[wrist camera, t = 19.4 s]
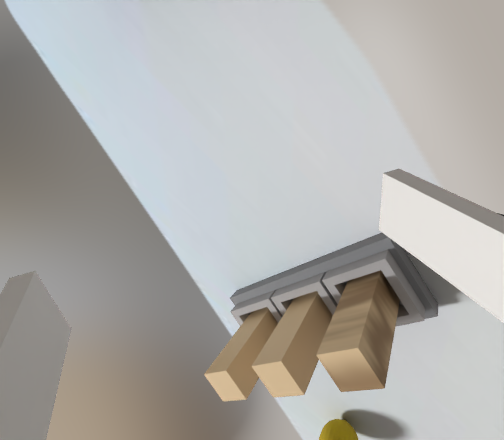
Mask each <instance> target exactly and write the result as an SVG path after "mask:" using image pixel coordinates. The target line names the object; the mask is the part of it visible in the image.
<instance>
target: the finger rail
mask: <svg viewBox="0 0 504 440" xmlns="http://www.w3.org/2000/svg"><path fill="white" fill-rule="evenodd" d="M380 270H381V271H382V272H383V274H384V275H385V277H386V279H387V280H388V282H389V283H390V285H391V286H392V288H393V290H394V291H395V293H396V294H397V296H398V297H399V299H400V302H399V308H398V314H397V320H396V325H395V326H400V325H405V324H410V323H415V322H420V321H424V319H426V318H431V317H436V316H438V304H437V302H436V301H435V299H434V298H433V296H432V294H431V293H430V291H429V290H428V288H427V286H426V285H425V283H424V282H423V280H422V278H421V277H420V275H419V273H418V272H417V270H416V269H415V267H414V265H413V264H412V262H411V261H410V259H409V257H408V256H407V254H406V253H405V251H404V249H403V248H402V247H401V246H400V245H398V244H397V243H396V242H394V241H393V240H392V239H390V238H389V237H388V236H386V235H385V234H384V233H380V234H378V235H375V236H372V237H370V238H367V239H365V240H362V241H360V242H357V243H355V244H352V245H350V246H347V247H345V248H342V249H340V250H337V251H335V252H332V253H330V254H327V255H325V256H322V257H320V258H317V259H315V260H312V261H310V262H307V263H305V264H302V265H300V266H297V267H295V268H292V269H290V270H287V271H285V272H282V273H280V274H277V275H275V276H272V277H269V278H267V279H264V280H262V281H259V282H257V283H254V284H252V285H249V286H247V287H244V288H242V289H239V290H237V291H236V292H235V293H234V294H233V295H232V296H231V298H230V299H231V300H232V302H233V303H234V305H235V307H234V308H233V309H232V311H231V313H232V315H233V316H234V318H235V319H236V321H237V322H238V323H239V325H240V328H239V329H238V330H237V332H236V333H235V334H234V336H233V337H232V338H231V340H230V341H229V342H228V344H227V345H226V346H225V347H224V349H223V350H222V352H221V353H220V354H219V355H218V357H217V358H216V359H215V361H214V362H213V363H212V365H211V366H210V367H209V369H208V370H207V371H206V372H205V374H204V375H205V376H206V378H207V379H208V381H209V382H210V384H211V385H212V386H213V387H214V389H215V390H216V392H217V393H218V395H219V396H220V398H221V399H222V400H223V401H235V400H246V399H247V398H248V396H249V394H250V393H251V391H252V389H253V387H254V385H255V384H256V382H257V380H258V378H260V379H261V381H262V382H263V384H264V385H265V386H266V388H267V389H268V391H269V392H270V394H271V395H272V396H273V397H285V396H298V395H304V394H305V392H306V389H307V387H308V384H309V382H310V380H311V377H312V375H313V372H314V370H315V367H316V365H317V363H318V360H319V359H318V357H317V356H316V354H317V352H318V350H319V347H320V345H321V343H322V340H323V338H324V336H325V333H326V331H327V329H328V326H329V324H330V322H331V319H332V317H333V314H334V312H335V310H336V307H337V305H338V303H339V300H340V298H341V296H342V293H343V291H344V289H345V286H346V284H347V282H348V281H349V280H352V279H355V278H358V277H361V276H364V275H367V274H370V273H374V272H377V271H380Z"/></svg>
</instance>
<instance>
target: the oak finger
mask: <svg viewBox="0 0 504 440" xmlns="http://www.w3.org/2000/svg"><path fill="white" fill-rule="evenodd" d="M399 302H400V299H399V297H398V296H397V294H396V293H395V291H394V290H393V288H392V286H391V285H390V283H389V282H388V280H387V279H386V277H385V275H384V274H383V272H382V271H381V270H380V271H377V272H374V273H370V274H367V275H364V276H361V277H358V278H355V279H352V280H349V281H348V282H347V284H346V286H345V289H344V291H343V293H342V296H341V298H340V300H339V303H338V305H337V307H336V310H335V312H334V314H333V317H332V319H331V322H330V324H329V326H328V329H327V331H326V333H325V336H324V338H323V340H322V343H321V345H320V347H319V350H318V352H317V354H316V356H317V357H318V359H319V360H320V361H321V363H322V364H323V366H324V367H325V369H326V370H327V372H328V373H329V375H330V376H331V378H332V379H333V381H334V382H335V384H336V385H337V387H338V388H339V390H340V391H341V392H346V391H359V390H371V389H383V388H385V383H386V377H387V372H388V366H389V360H390V354H391V349H392V343H393V337H394V331H395V325H396V320H397V314H398V308H399Z"/></svg>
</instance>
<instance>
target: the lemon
mask: <svg viewBox="0 0 504 440" xmlns="http://www.w3.org/2000/svg"><path fill="white" fill-rule="evenodd" d="M319 440H358V436H357V434H356V432H355V430H354V428H353V427H352V426H351V425H350V424H349V423H347V421H346V420H340V419H334V420H331V421H329V422H328V423H327V424H326V425H325V426H324V427H323V429H322V432H321V434H320V437H319Z"/></svg>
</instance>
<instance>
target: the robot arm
mask: <svg viewBox="0 0 504 440" xmlns="http://www.w3.org/2000/svg"><path fill="white" fill-rule="evenodd" d="M379 230H380V231H381V232H382V233H384V234H385V235H386V236H388V237H389V238H390V239H392V240H393V241H394V242H396V243H397V244H398V245H400V246H401V247H402V248H404V249H405V250H406V251H408V252H409V253H410V254H412V255H413V256H415V257H416V258H417V259H419V260H420V261H421V262H423V263H424V264H425V265H427V266H428V267H429V268H431V269H432V270H433V271H435V272H436V273H437V274H439V275H440V276H441V277H443V278H444V279H445V280H447V281H448V282H449V283H451V284H452V285H453V286H455V287H456V288H457V289H459V290H460V291H461V292H463V293H464V294H465V295H467V296H468V297H469V298H471V299H472V300H474V301H475V302H476V303H478V304H479V305H480V306H482V307H483V308H484V309H486V310H487V311H488V312H490V313H491V314H492V315H494V316H495V317H496V318H498V319H499V320H500V321H502V322H503V323H504V215H502V214H499V213H495V212H493V211H491V210H489V209H486V208H484V207H482V206H480V205H478V204H475V203H473V202H471V201H469V200H467V199H464V198H462V197H460V196H457V195H456V194H454V193H451V192H449V191H447V190H445V189H443V188H440V187H438V186H436V185H434V184H432V183H429V182H427V181H425V180H423V179H421V178H418V177H416V176H414V175H412V174H410V173H408V172H405V171H403V170H401V169H397V170H393V171H390V172H386V173H383V183H382V196H381V208H380V221H379ZM70 332H71V327H70V325H69V324H68V322H67V321H66V319H65V317H64V316H63V315H62V313H61V311H60V310H59V308H58V306H57V305H56V303H55V302H54V300H53V298H52V297H51V295H50V294H49V292H48V290H47V289H46V287H45V286H44V284H43V283H42V281H41V279H40V278H39V276H38V275H37V273H36V271H33V272H30V273H26V274H23V275H19V276H16V277H12V278H9V280H8V282H7V284H6V285H5V287H4V289H3V291H2V292H1V294H0V440H46V437H47V433H48V429H49V424H50V420H51V415H52V411H53V407H54V402H55V398H56V394H57V389H58V385H59V381H60V376H61V372H62V367H63V363H64V359H65V354H66V350H67V346H68V341H69V336H70Z"/></svg>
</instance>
